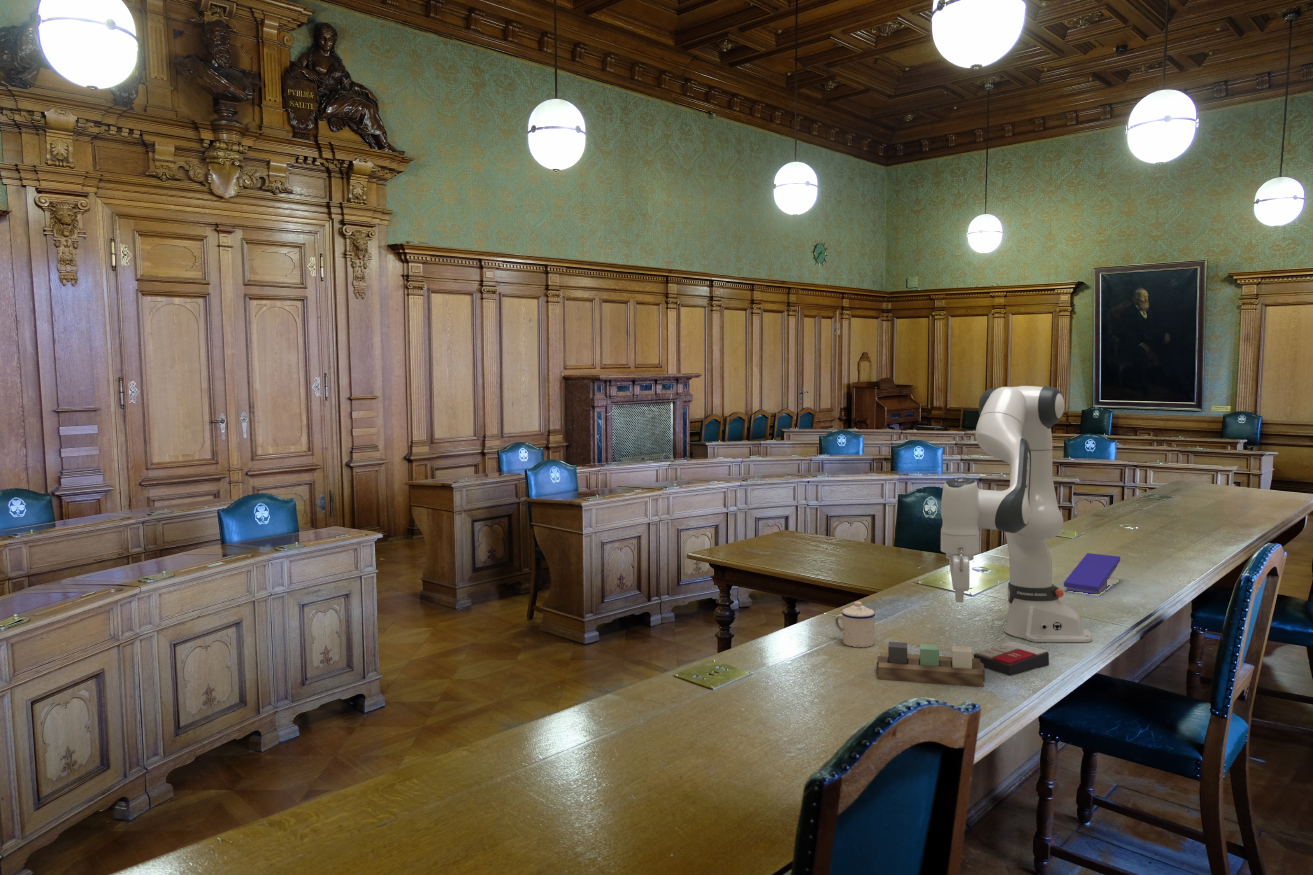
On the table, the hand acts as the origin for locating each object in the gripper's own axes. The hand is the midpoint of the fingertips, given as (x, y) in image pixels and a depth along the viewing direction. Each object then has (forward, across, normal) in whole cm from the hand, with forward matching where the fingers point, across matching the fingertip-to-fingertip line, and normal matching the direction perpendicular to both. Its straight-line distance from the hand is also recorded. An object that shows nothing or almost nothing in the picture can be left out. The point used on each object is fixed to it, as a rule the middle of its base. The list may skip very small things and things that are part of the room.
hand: (959, 601), depth 200 cm
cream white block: (+17, 0, -1) cm, 17 cm away
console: (+19, 0, +7) cm, 20 cm away
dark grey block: (+17, 0, +14) cm, 22 cm away
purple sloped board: (+18, +107, -48) cm, 118 cm away
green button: (+17, 0, +7) cm, 18 cm away
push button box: (+19, +13, -13) cm, 26 cm away
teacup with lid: (+19, +23, +27) cm, 40 cm away
